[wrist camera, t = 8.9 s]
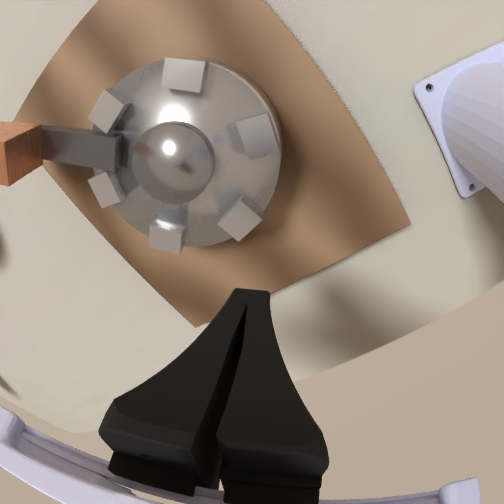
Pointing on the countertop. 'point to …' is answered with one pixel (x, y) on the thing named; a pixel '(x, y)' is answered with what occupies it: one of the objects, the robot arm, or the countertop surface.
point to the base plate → (293, 154)
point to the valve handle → (168, 151)
